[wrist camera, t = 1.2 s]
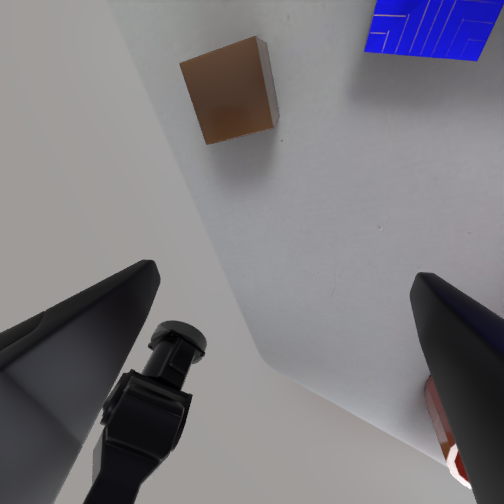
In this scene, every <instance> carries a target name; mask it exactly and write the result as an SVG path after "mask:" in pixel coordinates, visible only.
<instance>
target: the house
mask: <svg viewBox="0 0 504 504" xmlns="http://www.w3.org/2000/svg"><path fill="white" fill-rule="evenodd" d="M503 5H504V0H377V3H376V7H375V11H374V15H373V17H372V21H371V25H370V29H369V33H368V37H367V41H366V45H365V49H364V52H369V53H381V54H394V55H407V56H419V57H432V58H444V59H455V60H468V61H478V59H479V57H480V54H481V52H482V50H483V48H484V46H485V44H486V41H487V39H488V37H489V35H490V33H491V31H492V28H493V26H494V24H495V22H496V20H497V18H498V15H499V13H500V11H501V9H502V7H503Z"/></svg>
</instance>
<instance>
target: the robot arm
mask: <svg viewBox="0 0 504 504" xmlns="http://www.w3.org/2000/svg"><path fill="white" fill-rule="evenodd" d="M159 285H160V275H159V272H158V269H157V266H156V264H155V262H154V261H153V260H141V261H139V262H137V263H135V264H133V265H131V266H129V267H127V268H126V269H124V270H122V271H120V272H118V273H116V274H114V275H112V276H110V277H108V278H106V279H105V280H103V281H101V282H99V283H97V284H95V285H93V286H91V287H89V288H87V289H85V290H84V291H81V292H80V293H78V294H76V295H74V296H72V297H70V298H68V299H66V300H64V301H62V302H60V303H58V304H57V305H55V306H53V307H51V308H49V309H47V310H46V311H43V312H41V313H39V314H37V315H36V316H34V317H31V318H30V319H28V320H26V321H24V322H22V323H20V324H18V325H16V326H14V327H12V328H10V329H7V330H6V331H3V332H1V333H0V504H54V502H55V500H56V498H57V496H58V494H59V492H60V490H61V488H62V486H63V484H64V482H65V480H66V478H67V476H68V474H69V472H70V470H71V468H72V466H73V464H74V462H75V461H76V459H77V457H78V454H79V453H80V451H81V448H82V445H83V444H84V442H85V440H86V438H87V436H88V434H89V432H90V430H91V428H92V426H93V424H94V422H95V420H96V418H97V416H98V414H99V412H100V410H101V408H103V415H102V416H103V418H102V420H101V422H100V424H101V425H104V426H105V427H104V429H103V431H102V433H101V435H100V438H99V440H98V442H97V444H96V446H95V448H94V451H93V476H92V486H91V488H90V490H89V493H88V494H87V496H86V498H85V500H84V502H83V504H134V502H135V500H136V497H137V494H138V492H139V490H140V488H142V487H143V486H144V485H145V483H146V482H147V481H148V480H149V479H150V478H151V477H152V476H153V475H154V474H155V473H156V471H157V470H158V469H159V467H160V466H161V465H162V464H163V462H164V461H165V460H166V458H167V457H168V456H169V454H170V451H171V452H172V451H173V450H174V449H175V447H176V445H177V444H178V441H179V439H180V437H181V434H182V432H183V429H184V426H185V423H186V419H187V415H188V411H189V407H190V403H191V400H192V396H193V395H192V394H187V393H185V392H183V391H181V390H182V387H183V384H184V382H185V379H186V377H187V374H188V372H189V369H190V366H191V364H192V362H194V361H196V360H198V359H200V358H202V357H204V356H205V352H204V351H203V350H201V349H200V348H199V347H197V346H196V345H194V344H193V343H191V342H190V341H189V340H187V339H186V338H184V337H183V336H182V335H180V334H179V333H177V332H176V331H175V330H172V329H170V330H168V331H167V332H165V333H164V334H162V335H161V336H159V337H158V338H156V339H155V340H153V341H152V342H150V343H149V344H148V347H149V348H150V349H151V350H153V353H152V354H151V356H150V358H149V360H148V362H147V364H146V366H145V367H144V369H143V371H142V373H141V374H140V373H138V372H135V370H133V369H131V370H130V372H129V373H123V374H122V376H121V378H120V380H119V381H118V383H117V384H116V386H115V387H114V389H113V390H112V392H111V393H110V395H109V396H108V394H109V392H110V390H111V388H112V386H113V384H114V382H115V381H116V379H117V377H118V374H119V373H120V370H121V368H122V367H123V365H124V363H125V361H126V359H127V356H128V354H129V353H130V351H131V349H132V347H133V345H134V343H135V341H136V338H137V336H138V335H139V333H140V331H141V329H142V327H143V325H144V323H145V321H146V318H147V316H148V314H149V311H150V309H151V306H152V303H153V300H154V298H155V295H156V292H157V290H158V287H159ZM410 301H411V306H412V310H413V315H414V319H415V324H416V328H417V333H418V337H419V341H420V344H421V347H422V350H423V353H424V356H425V359H426V362H427V364H428V367H429V370H430V373H431V376H432V378H433V381H434V384H435V387H436V390H437V392H438V395H439V398H440V401H441V404H442V406H443V409H444V412H445V415H446V418H447V421H448V423H449V426H450V429H451V432H452V435H453V437H454V440H455V443H456V446H457V449H458V451H459V454H460V457H461V460H462V463H463V465H464V468H465V471H466V474H467V477H468V479H469V482H470V485H471V488H472V491H473V493H474V496H475V499H476V502H477V504H504V319H502V318H501V317H499V316H498V315H496V314H495V313H493V312H492V311H490V310H489V309H487V308H486V307H484V306H483V305H481V304H480V303H478V302H477V301H475V300H474V299H472V298H471V297H469V296H467V295H466V294H464V293H463V292H461V291H460V290H458V289H457V288H455V287H454V286H452V285H451V284H449V283H448V282H446V281H445V280H443V279H442V278H440V277H439V276H437V275H436V274H434V273H424V272H420V273H418V274H417V275H416V277H415V280H414V283H413V285H412V288H411V291H410ZM107 396H108V398H107ZM106 398H107V399H106ZM105 400H106V401H105Z"/></svg>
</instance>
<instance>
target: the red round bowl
mask: <svg viewBox="0 0 504 504" xmlns="http://www.w3.org/2000/svg"><path fill="white" fill-rule="evenodd" d="M425 403H426V406H427V409H428V412H429V415H430V417H431V420H432V423H433V426H434V429H435V432H436V434H437V437H438V440H439V443H440V446H441V449H442V451H443V454H444V457H445V460H446V463H447V465H448V467H449V470H450V472H451V474H452V475H453V476H454V477H455V478H456V479H457V480H459V481H460V482H461V483H462V484H463V485H465V486H466V487H468V488H470V489H472V488H471V485H470V482H469V479H468V477H467V474H466V471H465V468H464V465H463V463H462V460H461V457H460V454H459V451H458V449H457V446H456V443H455V440H454V437H453V435H452V432H451V429H450V426H449V423H448V421H447V418H446V415H445V412H444V409H443V406H442V404H441V401H440V398H439V395H438V392H437V390H436V387H435V384H434V381H433V378H432V376H430V378H429V380H428V381H427V384H426V387H425Z"/></svg>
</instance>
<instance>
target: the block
mask: <svg viewBox="0 0 504 504" xmlns="http://www.w3.org/2000/svg"><path fill="white" fill-rule="evenodd" d="M180 67H181V70H182V73H183V76H184V79H185V82H186V85H187V88H188V91H189V94H190V97H191V100H192V103H193V106H194V109H195V112H196V115H197V118H198V121H199V124H200V127H201V130H202V133H203V136H204V139H205V142H206V145H210V144H214V143H218V142H222V141H226V140H229V139H233V138H237V137H241V136H245V135H249V134H253V133H257V132H261V131H265V130H269V129H273V128H274V126H275V124H276V123H277V121H278V119H279V117H280V115H279V109H278V104H277V98H276V93H275V87H274V82H273V76H272V71H271V65H270V60H269V54H268V49H267V43H266V42H264V41H263V40H261V39H259V38H258V37H256V36H253V37H251V38H248V39H245V40H242V41H239V42H237V43H234V44H231V45H228V46H226V47H223V48H220V49H217V50H214V51H212V52H209V53H206V54H203V55H201V56H198V57H195V58H192V59H189V60H187V61H184V62H181V63H180Z"/></svg>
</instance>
